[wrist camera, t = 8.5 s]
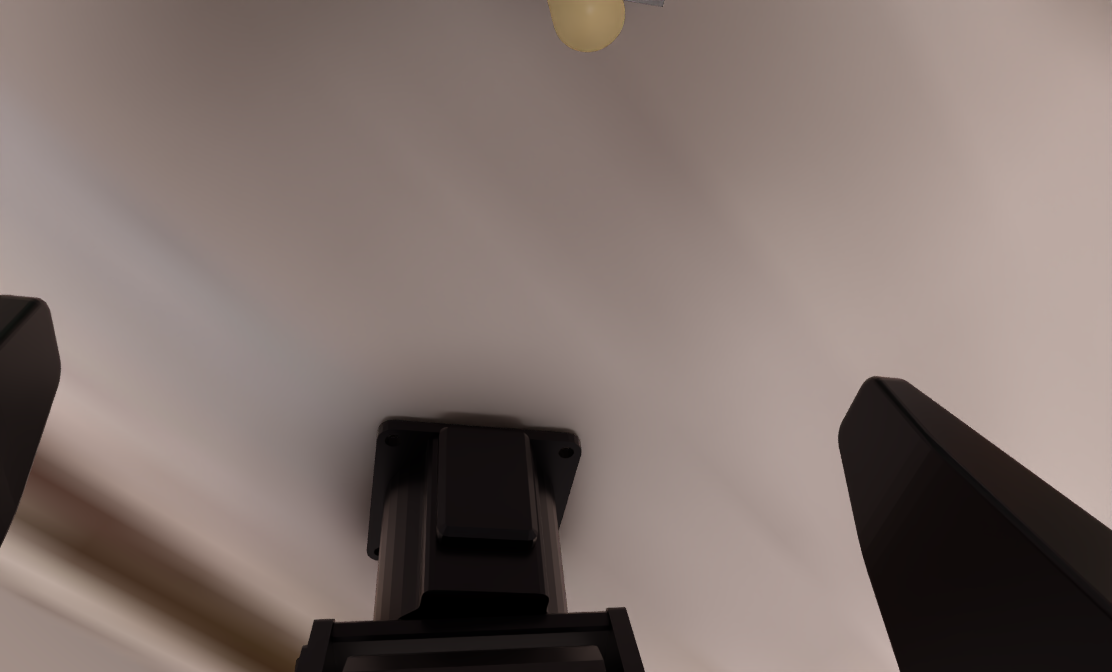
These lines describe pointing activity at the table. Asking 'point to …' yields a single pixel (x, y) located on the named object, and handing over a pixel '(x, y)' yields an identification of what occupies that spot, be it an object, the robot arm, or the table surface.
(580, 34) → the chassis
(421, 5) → the table surface
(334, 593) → the table surface
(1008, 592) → the robot arm
